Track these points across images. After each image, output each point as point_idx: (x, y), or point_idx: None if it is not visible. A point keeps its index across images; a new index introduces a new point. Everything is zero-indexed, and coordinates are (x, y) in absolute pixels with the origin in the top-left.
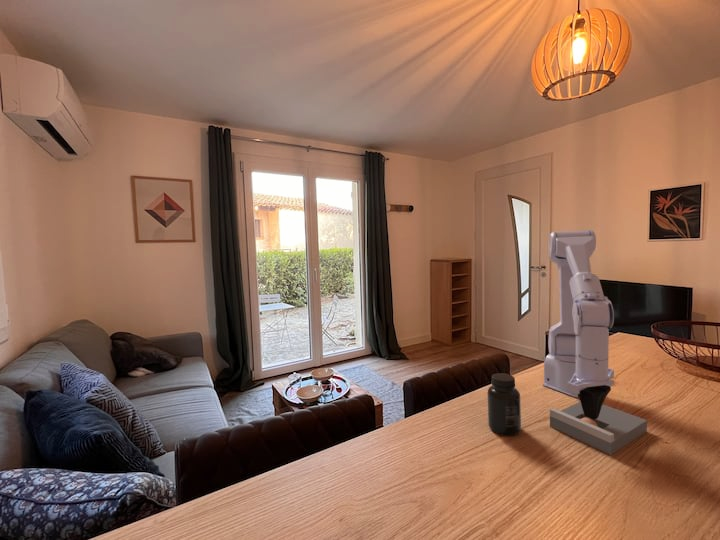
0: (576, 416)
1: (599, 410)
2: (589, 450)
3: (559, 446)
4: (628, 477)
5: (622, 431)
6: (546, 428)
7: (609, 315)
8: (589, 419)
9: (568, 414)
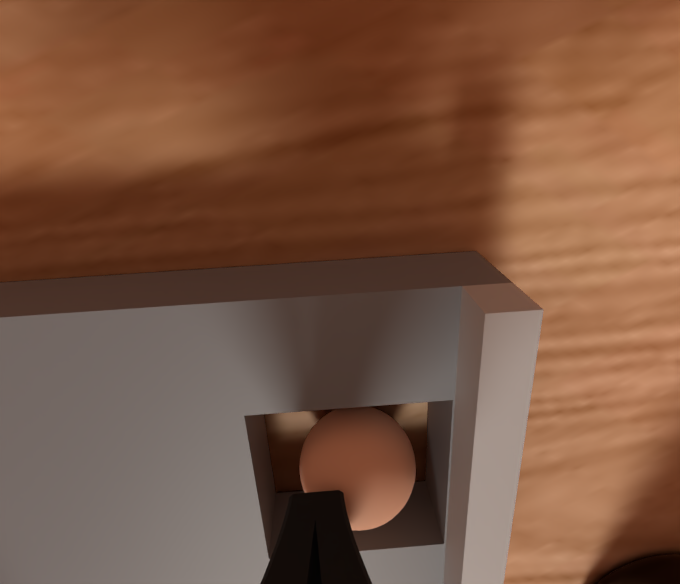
0: None
1: (295, 554)
2: None
3: (608, 423)
4: (643, 67)
5: (253, 327)
6: None
7: None
8: (367, 505)
9: None
